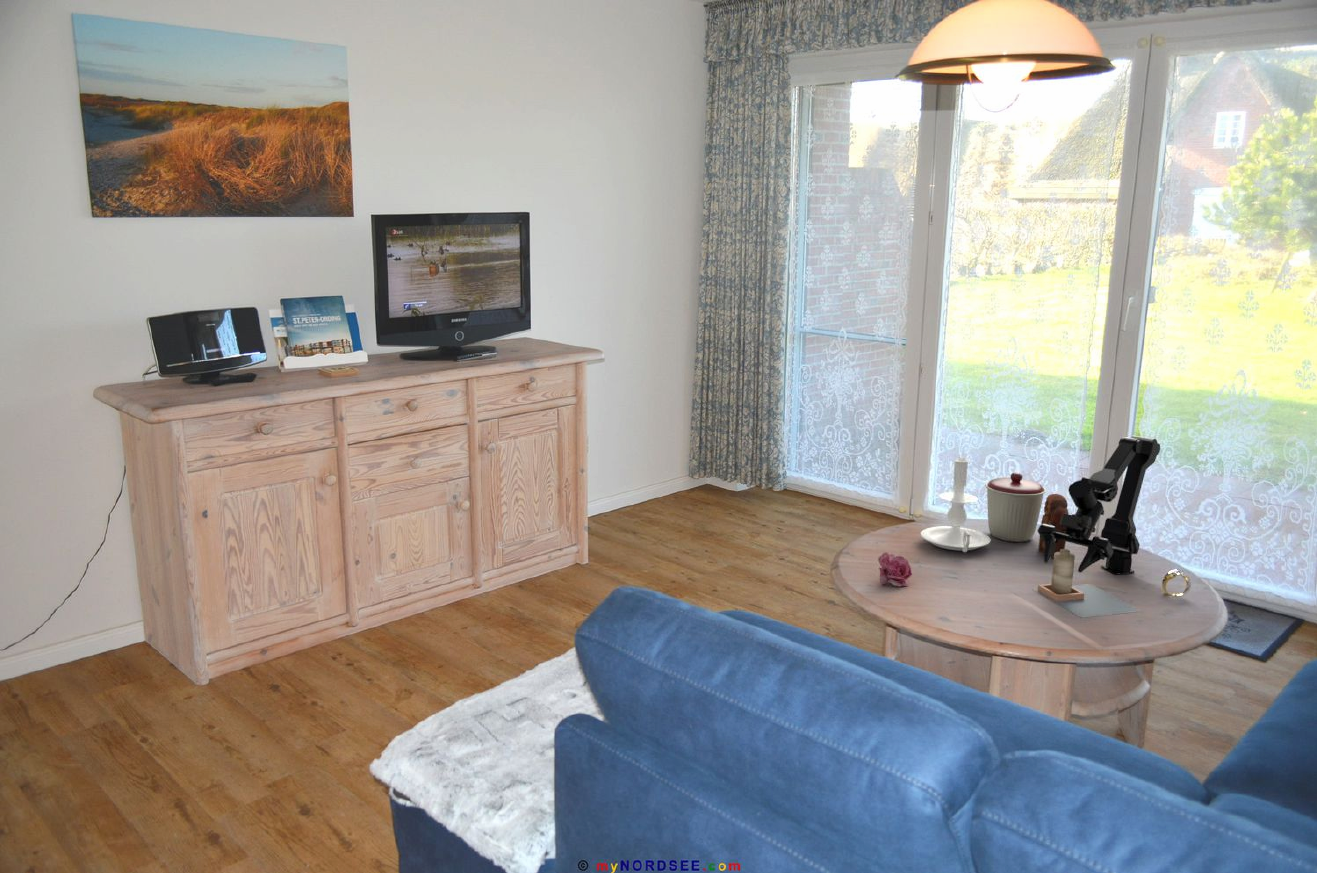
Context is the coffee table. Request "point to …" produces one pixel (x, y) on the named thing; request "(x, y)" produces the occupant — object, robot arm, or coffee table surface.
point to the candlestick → (957, 517)
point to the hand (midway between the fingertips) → (1061, 567)
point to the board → (1087, 601)
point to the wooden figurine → (1054, 518)
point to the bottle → (1062, 572)
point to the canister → (1013, 507)
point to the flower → (894, 569)
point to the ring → (1176, 573)
